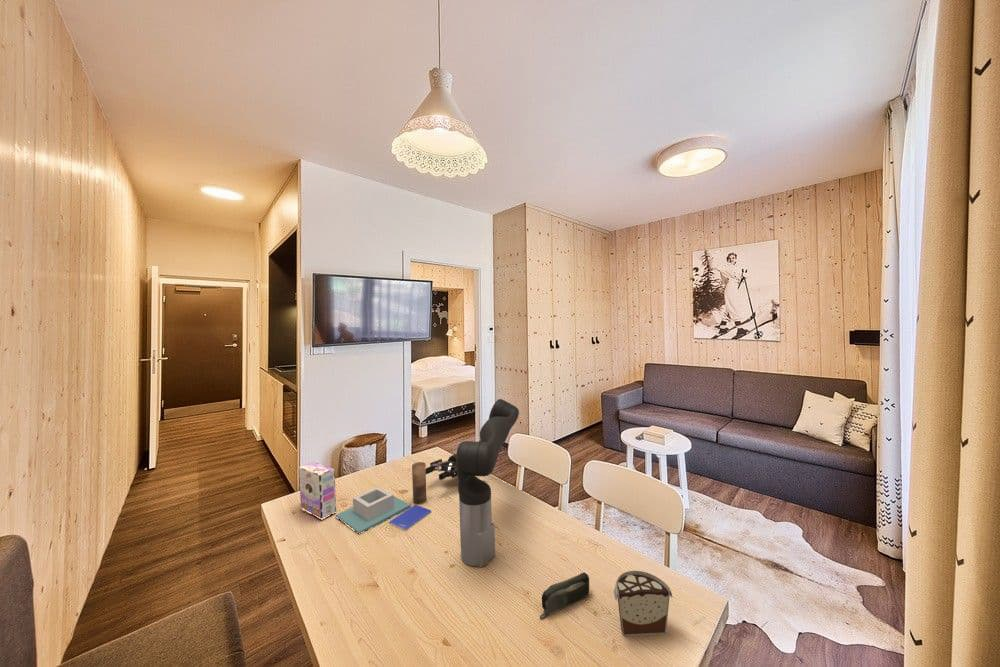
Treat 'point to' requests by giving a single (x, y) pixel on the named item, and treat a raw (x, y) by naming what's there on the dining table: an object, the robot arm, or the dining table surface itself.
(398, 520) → the hard drive
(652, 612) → the chocolate drizzled cake
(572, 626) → the dining table surface
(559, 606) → the black pencil case
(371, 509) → the socket plate
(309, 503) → the candy box
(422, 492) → the walnut peg
